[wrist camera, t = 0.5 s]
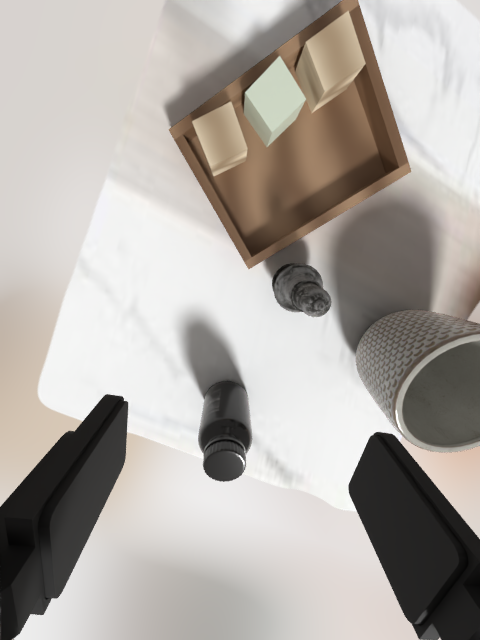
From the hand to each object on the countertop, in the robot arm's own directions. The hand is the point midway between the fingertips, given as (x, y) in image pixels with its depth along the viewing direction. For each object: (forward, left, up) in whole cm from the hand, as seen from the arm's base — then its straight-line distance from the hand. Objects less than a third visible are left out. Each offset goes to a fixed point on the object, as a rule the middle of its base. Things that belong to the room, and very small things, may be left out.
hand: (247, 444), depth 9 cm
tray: (-13, -11, -25) cm, 30 cm away
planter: (-15, +17, -25) cm, 34 cm away
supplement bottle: (+10, +13, -25) cm, 30 cm away
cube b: (-13, -15, -24) cm, 32 cm away
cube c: (-7, -15, -24) cm, 30 cm away
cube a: (-19, -15, -24) cm, 34 cm away
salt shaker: (-7, +2, -25) cm, 26 cm away
